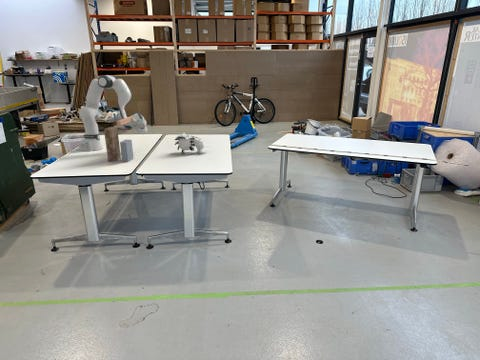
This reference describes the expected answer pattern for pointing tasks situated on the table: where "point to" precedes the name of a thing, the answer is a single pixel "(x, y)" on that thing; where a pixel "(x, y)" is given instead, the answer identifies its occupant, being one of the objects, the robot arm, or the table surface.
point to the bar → (124, 121)
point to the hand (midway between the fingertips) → (129, 118)
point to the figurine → (190, 143)
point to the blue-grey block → (126, 150)
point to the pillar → (112, 144)
